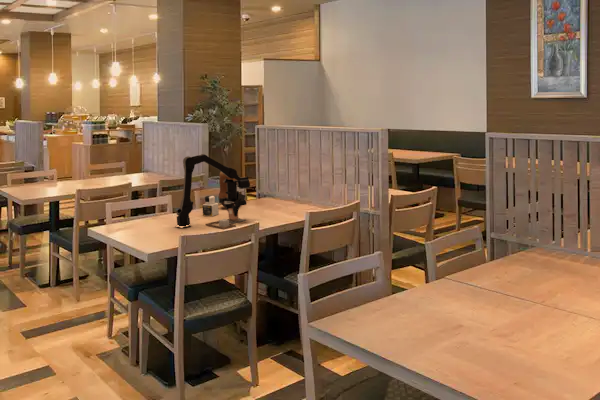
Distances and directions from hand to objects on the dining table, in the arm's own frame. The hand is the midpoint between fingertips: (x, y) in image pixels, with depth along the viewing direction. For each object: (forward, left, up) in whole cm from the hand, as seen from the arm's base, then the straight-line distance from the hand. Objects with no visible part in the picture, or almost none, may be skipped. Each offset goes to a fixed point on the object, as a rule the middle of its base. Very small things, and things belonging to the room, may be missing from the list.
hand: (233, 216), depth 350 cm
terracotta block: (0, 0, -2) cm, 2 cm away
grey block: (-13, -8, -3) cm, 15 cm away
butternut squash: (+25, +35, -3) cm, 43 cm away
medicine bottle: (+3, +26, -3) cm, 26 cm away
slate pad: (0, 0, -3) cm, 3 cm away
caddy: (-13, -4, -3) cm, 14 cm away
